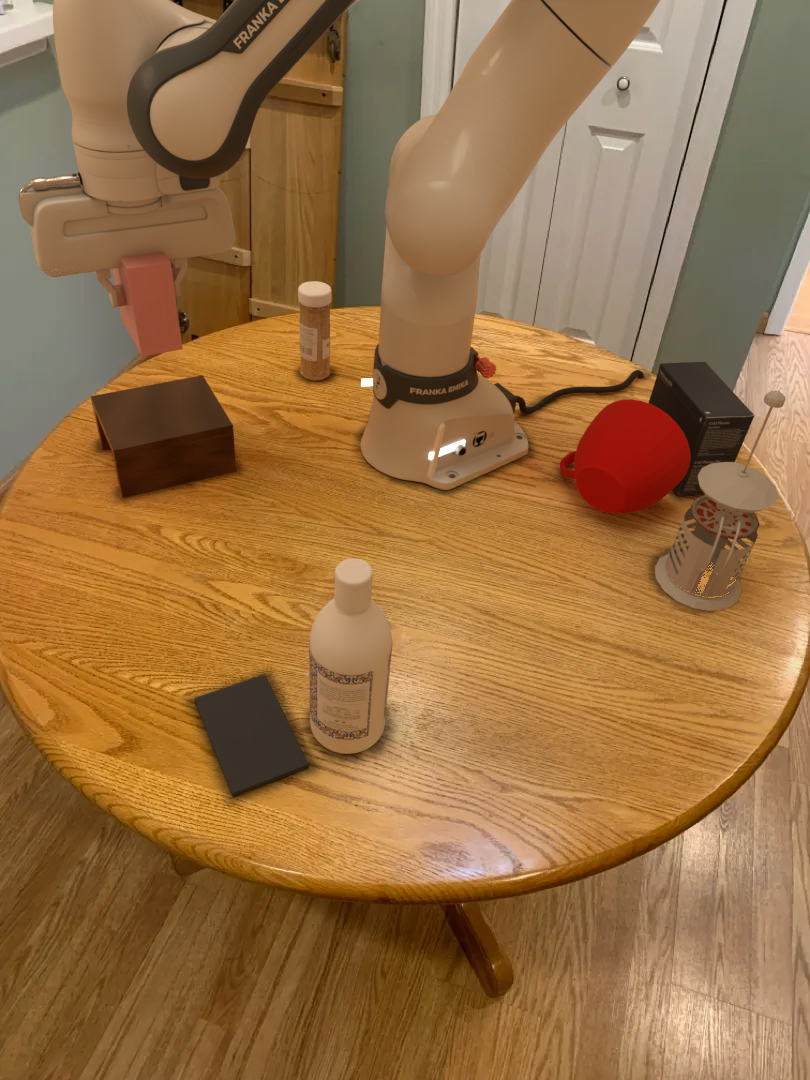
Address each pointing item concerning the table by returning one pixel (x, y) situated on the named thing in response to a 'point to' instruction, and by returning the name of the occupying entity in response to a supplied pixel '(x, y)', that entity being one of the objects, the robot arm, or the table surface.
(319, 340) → the sprinkles bottle
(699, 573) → the french press
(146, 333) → the block
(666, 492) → the ceramic cup
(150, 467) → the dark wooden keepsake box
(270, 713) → the mat
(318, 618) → the bath foam
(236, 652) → the table surface
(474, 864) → the table surface
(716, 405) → the small box
